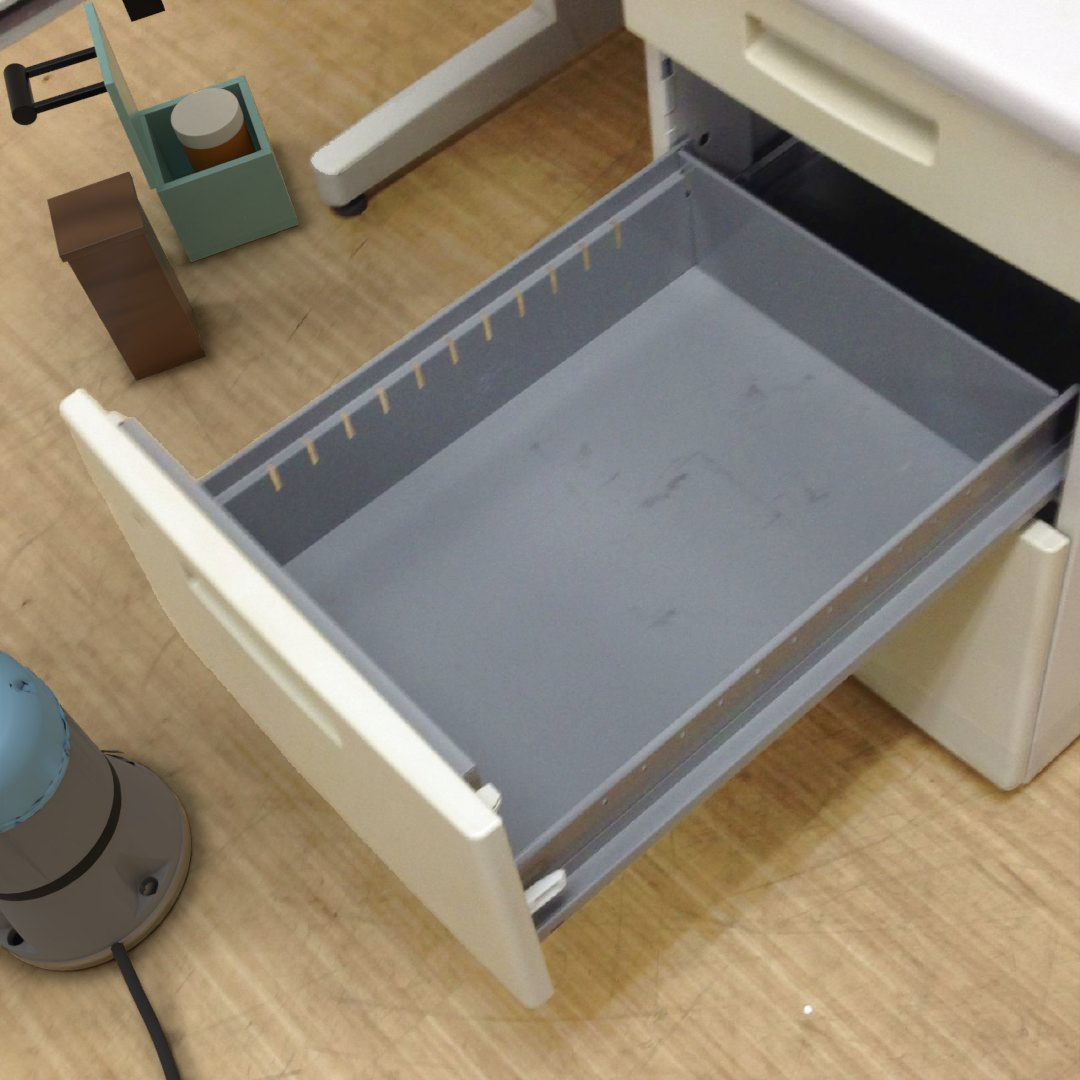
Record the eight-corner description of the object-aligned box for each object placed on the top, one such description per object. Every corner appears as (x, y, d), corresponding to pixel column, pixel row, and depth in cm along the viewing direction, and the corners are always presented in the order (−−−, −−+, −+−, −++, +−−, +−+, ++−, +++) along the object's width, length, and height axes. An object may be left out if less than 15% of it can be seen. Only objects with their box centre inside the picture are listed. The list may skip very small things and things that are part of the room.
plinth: (209, 357, 133) (143, 226, 120) (133, 384, 132) (58, 256, 119) (194, 303, 137) (128, 170, 124) (120, 329, 136) (46, 199, 123)
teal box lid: (92, 1, 129) (-12, 33, 128) (114, 82, 123) (4, 116, 122) (136, 107, 139) (40, 137, 138) (159, 187, 132) (58, 219, 131)
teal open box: (272, 147, 147) (244, 74, 140) (299, 224, 140) (272, 152, 133) (167, 183, 146) (134, 112, 139) (190, 262, 140) (157, 192, 132)
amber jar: (277, 204, 141) (244, 121, 133) (214, 226, 141) (177, 144, 133) (263, 162, 145) (230, 79, 136) (201, 184, 144) (164, 101, 136)
